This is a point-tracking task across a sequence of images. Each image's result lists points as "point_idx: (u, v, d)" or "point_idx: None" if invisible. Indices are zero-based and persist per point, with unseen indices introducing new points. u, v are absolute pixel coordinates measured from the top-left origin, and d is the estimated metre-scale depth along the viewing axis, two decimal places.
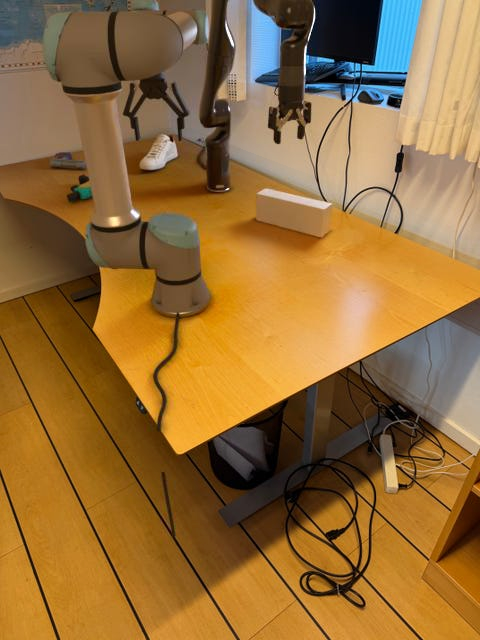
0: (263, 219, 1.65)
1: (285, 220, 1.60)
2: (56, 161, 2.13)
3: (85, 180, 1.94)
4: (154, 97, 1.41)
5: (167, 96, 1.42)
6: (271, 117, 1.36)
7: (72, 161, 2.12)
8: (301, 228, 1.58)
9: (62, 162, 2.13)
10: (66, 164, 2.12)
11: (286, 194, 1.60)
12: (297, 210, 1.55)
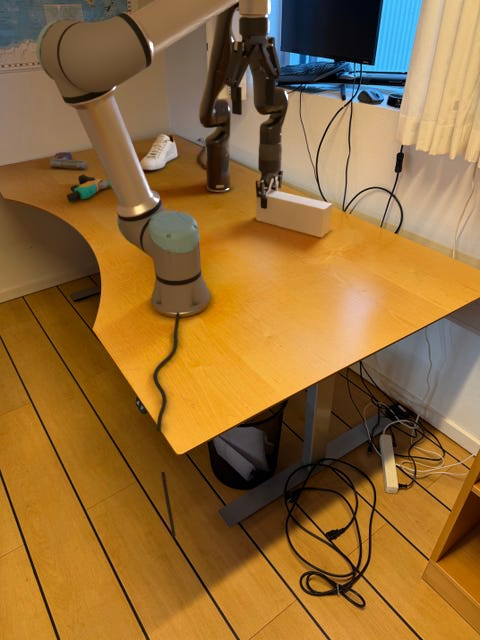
0: (263, 219, 1.65)
1: (285, 220, 1.60)
2: (56, 161, 2.13)
3: (85, 180, 1.94)
4: (257, 57, 1.20)
5: None
6: (259, 189, 1.55)
7: (72, 161, 2.12)
8: (301, 228, 1.58)
9: (62, 162, 2.13)
10: (66, 164, 2.12)
11: (286, 194, 1.60)
12: (297, 210, 1.55)
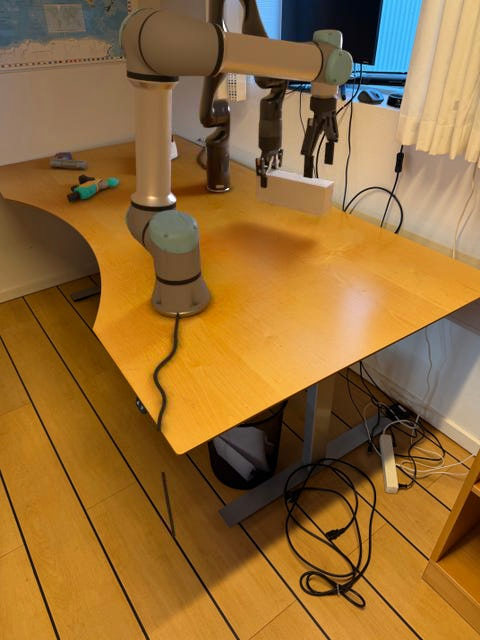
0: (263, 199, 1.61)
1: (285, 199, 1.56)
2: (56, 161, 2.13)
3: (85, 180, 1.94)
4: (325, 128, 1.37)
5: None
6: (259, 167, 1.51)
7: (72, 161, 2.12)
8: (302, 208, 1.54)
9: (62, 162, 2.13)
10: (66, 164, 2.12)
11: (287, 173, 1.56)
12: (298, 188, 1.51)
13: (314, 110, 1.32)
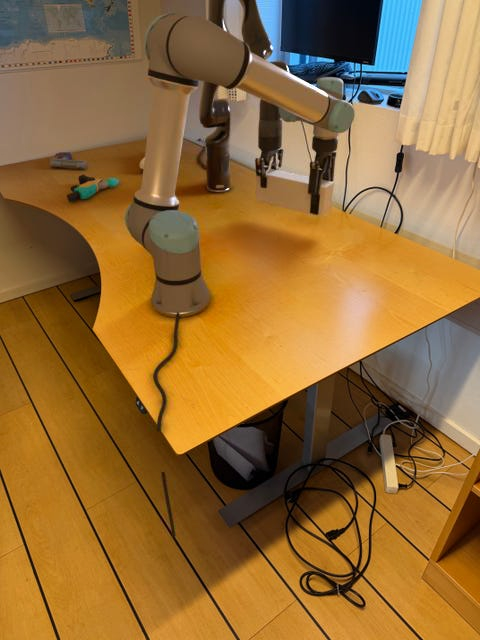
0: (263, 199, 1.61)
1: (285, 199, 1.56)
2: (56, 161, 2.13)
3: (85, 180, 1.94)
4: (326, 166, 1.45)
5: None
6: (259, 167, 1.51)
7: (72, 161, 2.12)
8: (302, 208, 1.54)
9: (62, 162, 2.13)
10: (66, 164, 2.12)
11: (286, 173, 1.56)
12: (298, 189, 1.51)
13: (316, 150, 1.40)
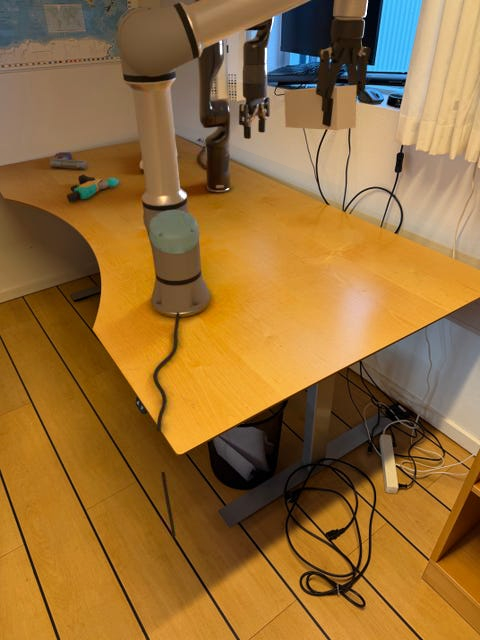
0: (290, 123, 1.37)
1: (306, 117, 1.29)
2: (56, 161, 2.13)
3: (85, 180, 1.94)
4: (347, 61, 1.14)
5: None
6: (242, 114, 1.45)
7: (72, 161, 2.12)
8: (319, 123, 1.25)
9: (62, 162, 2.13)
10: (66, 164, 2.12)
11: None
12: (315, 98, 1.24)
13: (332, 35, 1.11)
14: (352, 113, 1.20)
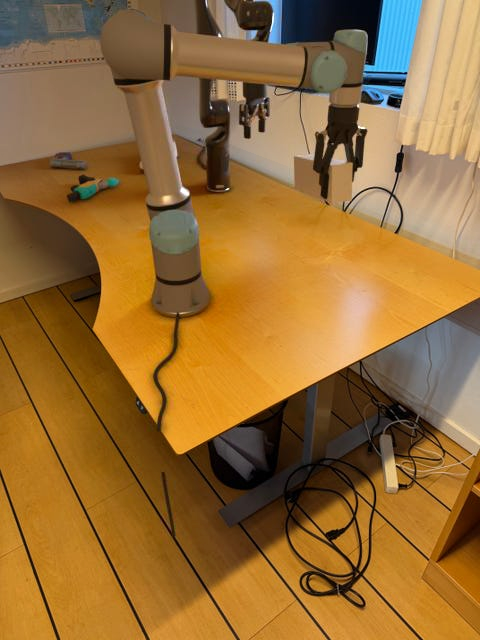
0: (298, 187, 1.45)
1: (310, 184, 1.36)
2: (56, 161, 2.13)
3: (85, 180, 1.94)
4: (343, 142, 1.20)
5: None
6: (242, 114, 1.45)
7: (72, 161, 2.12)
8: (319, 194, 1.31)
9: (62, 162, 2.13)
10: (66, 164, 2.12)
11: None
12: None
13: (327, 119, 1.17)
14: (348, 188, 1.25)
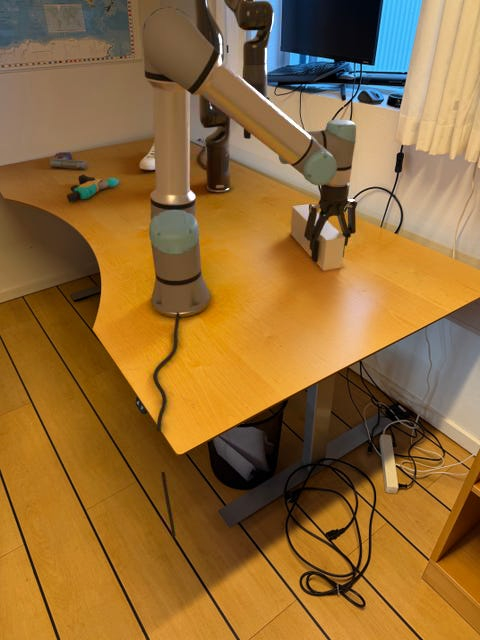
0: (294, 235, 1.55)
1: (305, 241, 1.47)
2: (56, 161, 2.13)
3: (85, 180, 1.94)
4: (334, 214, 1.31)
5: None
6: None
7: (72, 161, 2.12)
8: None
9: (62, 162, 2.13)
10: (66, 164, 2.12)
11: (317, 215, 1.46)
12: None
13: (320, 195, 1.29)
14: (339, 257, 1.37)
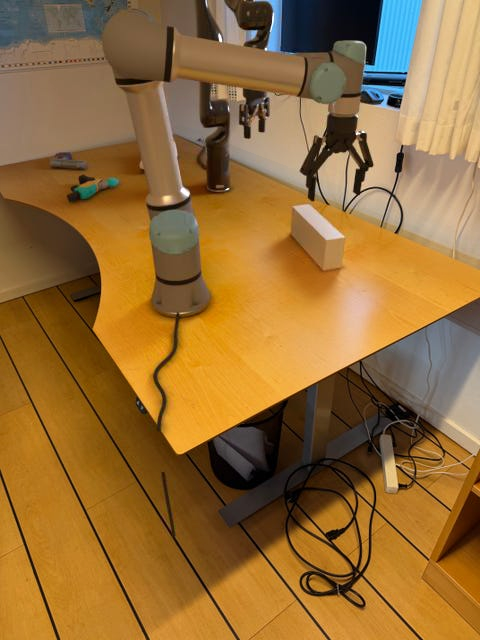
0: (294, 235, 1.55)
1: (305, 241, 1.47)
2: (56, 161, 2.13)
3: (85, 180, 1.94)
4: (341, 150, 1.21)
5: None
6: (242, 114, 1.45)
7: (72, 161, 2.12)
8: (313, 255, 1.43)
9: (62, 162, 2.13)
10: (66, 164, 2.12)
11: (317, 215, 1.46)
12: (312, 233, 1.41)
13: (326, 128, 1.19)
14: (339, 257, 1.37)
